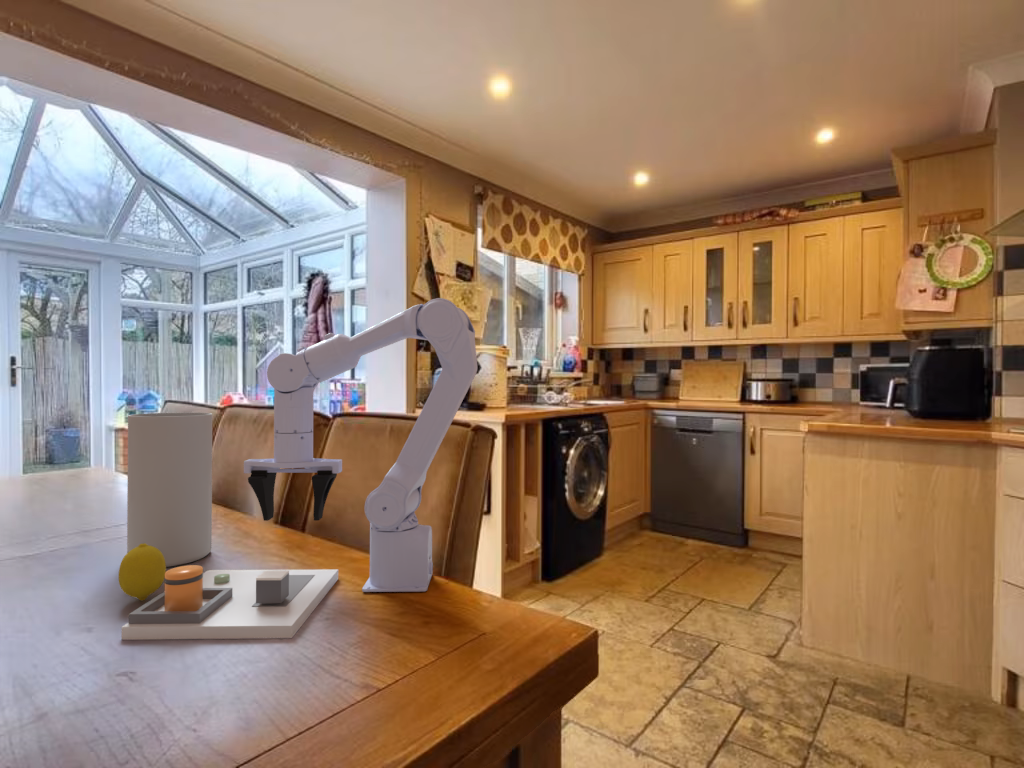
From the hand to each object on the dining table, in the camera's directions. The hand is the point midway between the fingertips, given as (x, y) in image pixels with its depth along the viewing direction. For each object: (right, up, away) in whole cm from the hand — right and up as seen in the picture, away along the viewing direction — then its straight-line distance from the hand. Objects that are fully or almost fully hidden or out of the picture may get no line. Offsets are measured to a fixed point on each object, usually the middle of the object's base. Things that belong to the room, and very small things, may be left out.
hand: (293, 519), depth 86 cm
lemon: (-18, -10, -9) cm, 22 cm away
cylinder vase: (-25, -9, +10) cm, 29 cm away
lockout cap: (-8, -8, -15) cm, 19 cm away
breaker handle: (+2, -7, -13) cm, 15 cm away
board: (-3, -9, -10) cm, 14 cm away
